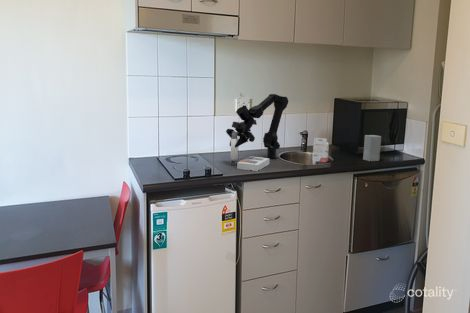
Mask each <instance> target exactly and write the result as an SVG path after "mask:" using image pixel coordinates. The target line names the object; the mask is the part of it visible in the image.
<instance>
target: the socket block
mask: <svg viewBox="0 0 470 313" xmlns="http://www.w3.org/2000/svg"><path fill="white" fill-rule="evenodd" d="M270 159H271V158H266V157H261V156H253V155H252V156H247V157H246V158H243V159H241V160H240V161H238V162H237V163H236V169H237V170H245V171H250V170H252V171H251V172H259V171H260V170H262V169H263V168H265V167H268V166H269V165H270ZM258 170H259V171H258Z"/></svg>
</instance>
